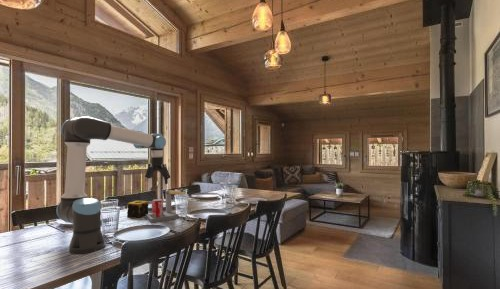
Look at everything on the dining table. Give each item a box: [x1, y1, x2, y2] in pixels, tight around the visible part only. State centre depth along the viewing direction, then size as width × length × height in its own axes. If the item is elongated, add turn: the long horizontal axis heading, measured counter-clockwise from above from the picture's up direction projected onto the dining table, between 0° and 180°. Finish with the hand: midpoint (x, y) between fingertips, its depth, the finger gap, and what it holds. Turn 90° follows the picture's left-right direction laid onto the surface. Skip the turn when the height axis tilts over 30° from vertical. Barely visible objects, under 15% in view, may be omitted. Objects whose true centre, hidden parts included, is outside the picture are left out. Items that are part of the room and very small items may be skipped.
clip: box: [165, 188, 186, 196], centre depth 191 cm, size 15×4×3 cm, turn 67°
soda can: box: [151, 198, 164, 218], centre depth 184 cm, size 7×7×13 cm
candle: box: [126, 200, 149, 219], centre depth 192 cm, size 10×10×10 cm
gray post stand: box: [144, 193, 179, 223], centre depth 187 cm, size 18×14×15 cm
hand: (157, 188), depth 185 cm, fingers open, 13 cm apart
